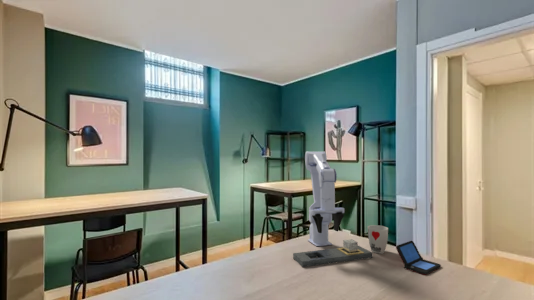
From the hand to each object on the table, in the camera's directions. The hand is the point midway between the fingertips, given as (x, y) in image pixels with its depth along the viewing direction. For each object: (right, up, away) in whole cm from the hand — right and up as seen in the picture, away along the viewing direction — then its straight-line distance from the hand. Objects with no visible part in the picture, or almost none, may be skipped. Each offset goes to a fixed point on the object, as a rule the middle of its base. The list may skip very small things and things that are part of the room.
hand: (327, 231), depth 115 cm
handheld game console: (+30, -10, -12) cm, 34 cm away
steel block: (+9, -9, -2) cm, 13 cm away
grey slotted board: (+1, -9, -4) cm, 10 cm away
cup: (+22, -10, +3) cm, 24 cm away
